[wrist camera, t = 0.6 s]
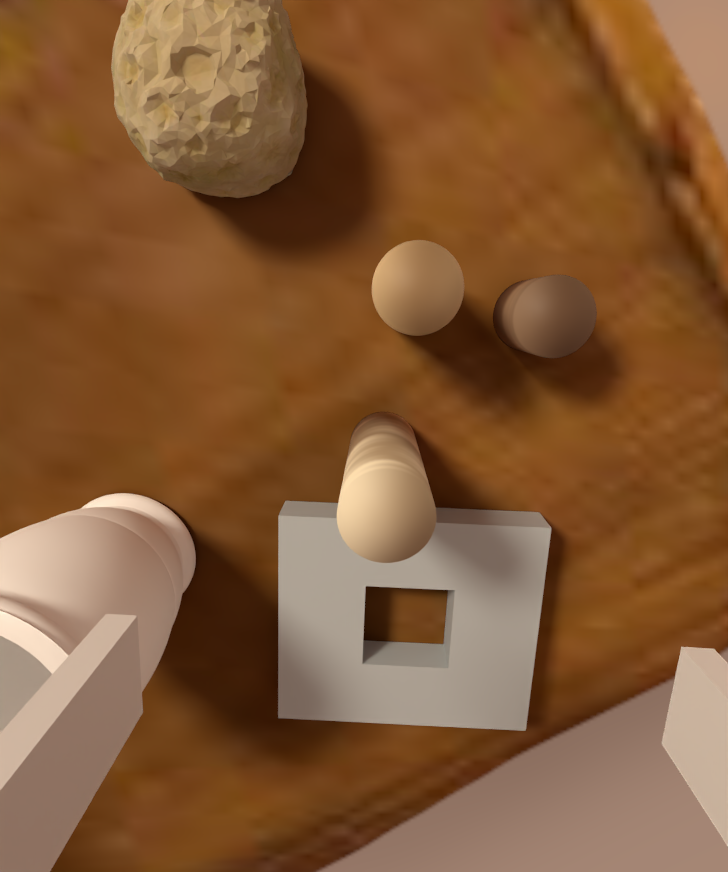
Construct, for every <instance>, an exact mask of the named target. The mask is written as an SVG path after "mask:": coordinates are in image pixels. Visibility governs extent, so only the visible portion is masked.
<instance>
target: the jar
mask: <svg viewBox="0 0 728 872" xmlns="http://www.w3.org/2000/svg"><path fill="white" fill-rule="evenodd" d="M195 564H196V554H195V548H194V543H193V540H192V538H191V535H190V533H189V531H188V529H187V528H186V526H185V525H184V523H183V522H182V521H181V520H180V518H179V517H178V516H177V515H176V514H175V513H173V512H172V511H171V510H170V509H169V508H167V507H166V506H164V505H163V504H161V503H159V502H157V501H155V500H153V499H150V498H148V497H145V496H141V495H136V494H128V493H118V494H110V495H106V496H102V497H100V498H97V499H95V500H93V501H91V502H89V503H88V504H86V505H85V506H83V507H82V508H81V509H78V510H74V511H70V512H67V513H63V514H60V515H58V516H55V517H52V518H50V519H48V520H45V521H42V522H39V523H36V524H33V525H30V526H28V527H25V528H23V529H20V530H18V531H15V532H13V533H11V534H9V535H7V536H4V537H2V538H0V733H1V731H2V730H3V729H4V728H5V727H6V726H7V725H8V724H9V722H10V721H11V720H12V719H13V718H14V717H15V716H16V715H17V713H18V712H19V711H20V710H21V709H22V708H23V707H24V706H25V704H26V703H27V702H28V701H29V700H30V699H31V698H32V697H33V695H34V694H35V693H36V692H37V691H38V690H39V689H40V688H41V686H42V685H43V684H44V683H45V682H46V681H47V680H48V679H49V677H50V676H51V675H52V674H53V673H54V672H55V671H56V670H57V668H58V667H59V666H60V665H61V664H62V663H63V662H64V661H65V659H66V658H67V657H68V656H69V655H70V654H71V653H72V652H73V651H74V649H75V648H76V647H77V646H78V645H79V644H80V643H81V642H82V640H83V639H84V638H85V637H86V636H87V635H88V634H89V633H90V631H91V630H92V629H93V628H94V627H95V626H96V625H97V624H98V622H99V621H100V620H101V619H102V618H103V617H104V616H105V615H106V614H119V615H136V616H137V618H138V636H139V653H140V671H141V689H142V691H143V690H144V688H145V687H146V685H147V683H148V682H149V680H150V678H151V677H152V675H153V673H154V671H155V669H156V667H157V665H158V663H159V661H160V659H161V657H162V655H163V652H164V650H165V647H166V645H167V642H168V639H169V636H170V632H171V629H172V626H173V624H174V621H175V619H176V616H177V613H178V610H179V607H180V603H181V598H182V594H183V592H184V591H185V590H186V588H187V587H188V585H189V584H190V582H191V579H192V577H193V574H194V570H195Z"/></svg>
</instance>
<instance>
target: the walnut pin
mask: <svg viewBox="0 0 728 872" xmlns="http://www.w3.org/2000/svg"><path fill="white" fill-rule="evenodd" d="M596 314H597V312H596V304H595V301H594V298H593V296H592V294H591V292H590V291H589V289H588V288H587V287H586V286H585V285H584V284H583V283H582V282H581V281H579V280H577V279H575V278H573V277H570V276H566V275H551V276H545V277H540V278H535V279H529V280H524V281H520V282H517V283H515V284H513V285H511V286H510V287H508V288H507V289H506V290H505V291H504V292H503V293H502V294H501V295H500V297H499V298H498V300H497V302H496V305H495V308H494V312H493V323H494V328H495V330H496V333H497V335H498V336H499V338H500V339H501V340H502V341H503V342H504V343H505V344H506V345H508V346H510V347H511V348H514V349H517V350H520V351H524V352H527V353H530V354H534V355H537V356H540V357H544V358H560V357H564V356H567V355H569V354H571V353H573V352H575V351H576V350H578V349H579V348H580V347H581V346H583V345H584V344H585V342H586V341H587V340H588V338H589V337H590V335H591V333H592V331H593V329H594V326H595V322H596Z"/></svg>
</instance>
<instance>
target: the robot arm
mask: <svg viewBox="0 0 728 872" xmlns="http://www.w3.org/2000/svg"><path fill="white" fill-rule="evenodd" d="M142 713H143V706H142V689H141V671H140V653H139V636H138V618H137V616H136V615H119V614H106V615H105V616H104V617H103V618H102V619H101V620H100V621H99V622H98V624H97V625H96V626H95V627H94V628H93V629H92V630H91V631H90V633H89V634H88V635H87V636H86V637H85V638H84V639H83V640H82V642H81V643H80V644H79V645H78V646H77V647H76V648H75V649H74V651H73V652H72V653H71V654H70V655H69V656H68V657H67V658H66V659H65V661H64V662H63V663H62V664H61V665H60V666H59V667H58V668H57V670H56V671H55V672H54V673H53V674H52V675H51V676H50V677H49V679H48V680H47V681H46V682H45V683H44V684H43V685H42V686H41V688H40V689H39V690H38V691H37V692H36V693H35V694H34V695H33V697H32V698H31V699H30V700H29V701H28V702H27V703H26V704H25V706H24V707H23V708H22V709H21V710H20V711H19V712H18V713H17V715H16V716H15V717H14V718H13V719H12V720H11V721H10V722H9V724H8V725H7V726H6V727H5V728H4V729H3V730H2V731H1V733H0V872H50V871H51V869H52V867H53V865H54V864H55V862H56V860H57V859H58V857H59V855H60V853H61V852H62V850H63V848H64V847H65V845H66V843H67V841H68V840H69V838H70V836H71V835H72V833H73V831H74V829H75V828H76V826H77V824H78V823H79V821H80V819H81V817H82V816H83V814H84V812H85V811H86V809H87V807H88V805H89V804H90V802H91V800H92V799H93V797H94V795H95V793H96V792H97V790H98V788H99V787H100V785H101V783H102V781H103V780H104V778H105V776H106V775H107V773H108V771H109V769H110V768H111V766H112V764H113V763H114V761H115V759H116V757H117V756H118V754H119V752H120V751H121V749H122V747H123V745H124V744H125V742H126V740H127V739H128V737H129V735H130V733H131V732H132V730H133V728H134V727H135V725H136V723H137V721H138V720H139V718H140V716H141V715H142ZM662 745H663V747H664V748H665V750H666V751H667V753H668V755H669V756H670V758H671V759H672V761H673V762H674V764H675V765H676V767H677V769H678V770H679V772H680V773H681V775H682V776H683V778H684V780H685V781H686V783H687V784H688V786H689V787H690V789H691V790H692V792H693V794H694V795H695V797H696V798H697V800H698V801H699V803H700V804H701V806H702V807H703V809H704V811H705V812H706V814H707V815H708V817H709V818H710V820H711V821H712V823H713V825H714V826H715V828H716V829H717V831H718V832H719V834H720V835H721V837H722V839H723V840H724V842H725V843H726V845H727V846H728V663H727V662H726V661H725V660H724V659H723V658H722V657H721V656H720V655H719V654H718V653H717V652H716V651H715V650H714V649H709V648H691V647H681V652H680V657H679V661H678V666H677V671H676V676H675V681H674V686H673V690H672V695H671V700H670V705H669V711H668V715H667V719H666V724H665V729H664V734H663V739H662Z"/></svg>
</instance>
